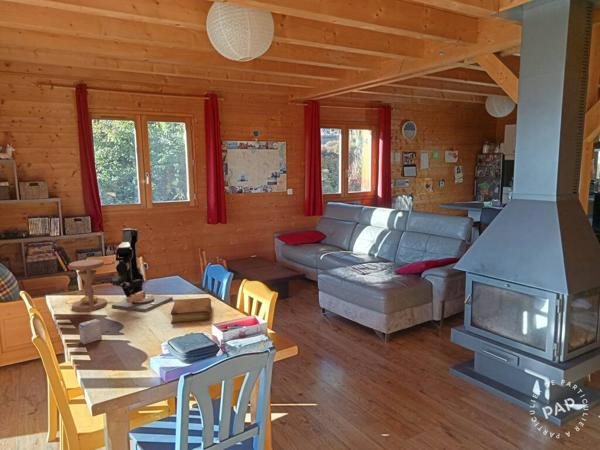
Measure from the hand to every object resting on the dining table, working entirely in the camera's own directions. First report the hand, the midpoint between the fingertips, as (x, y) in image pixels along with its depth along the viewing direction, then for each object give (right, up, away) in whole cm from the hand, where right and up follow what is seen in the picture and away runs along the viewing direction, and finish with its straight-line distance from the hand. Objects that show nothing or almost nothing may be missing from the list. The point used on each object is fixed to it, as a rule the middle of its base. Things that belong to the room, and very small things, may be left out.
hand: (127, 296), depth 242 cm
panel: (+6, -5, +7) cm, 11 cm away
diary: (+39, -8, -13) cm, 42 cm away
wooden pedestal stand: (-22, -6, +3) cm, 23 cm away
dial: (+5, -3, +5) cm, 8 cm away
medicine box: (+2, -12, -45) cm, 47 cm away
